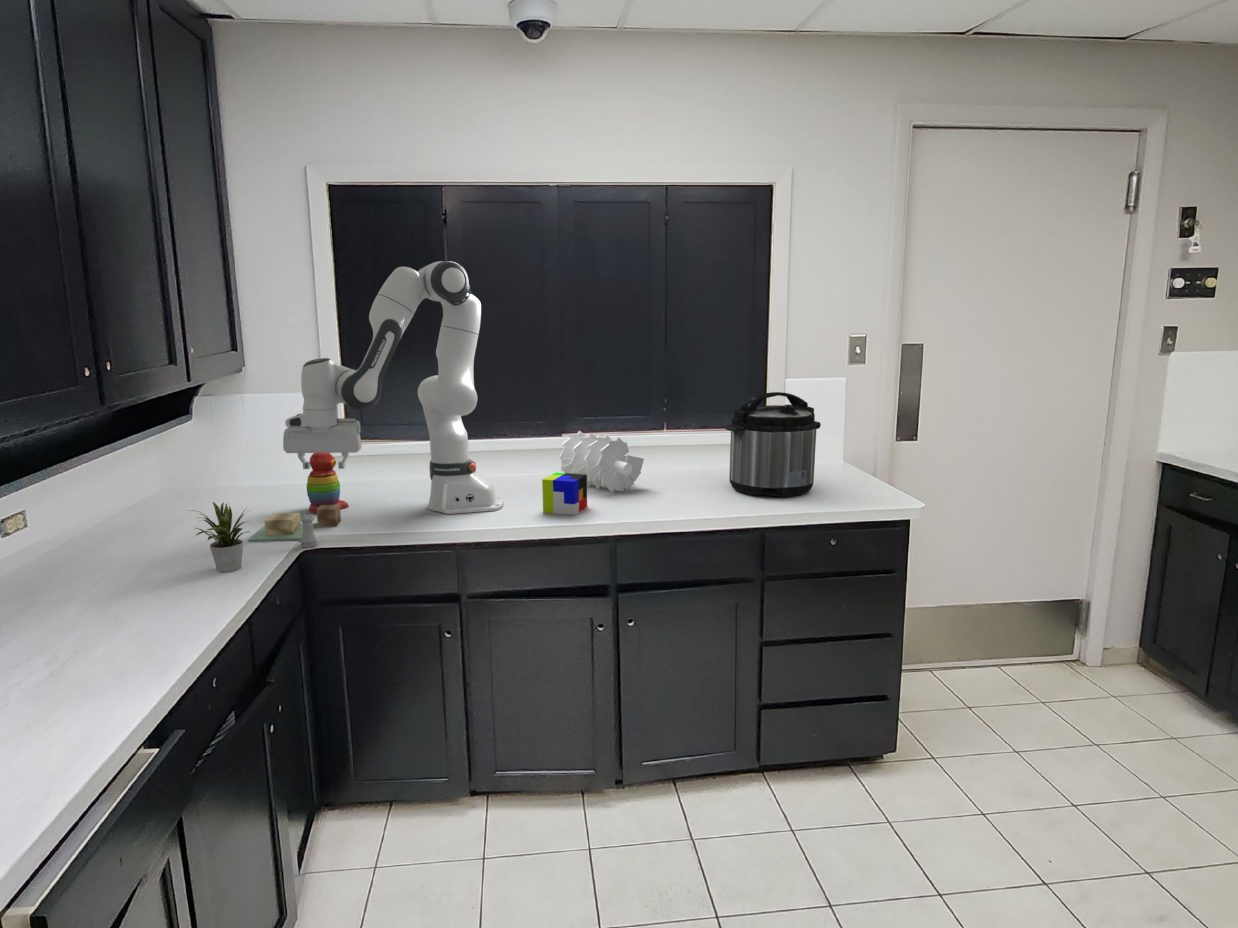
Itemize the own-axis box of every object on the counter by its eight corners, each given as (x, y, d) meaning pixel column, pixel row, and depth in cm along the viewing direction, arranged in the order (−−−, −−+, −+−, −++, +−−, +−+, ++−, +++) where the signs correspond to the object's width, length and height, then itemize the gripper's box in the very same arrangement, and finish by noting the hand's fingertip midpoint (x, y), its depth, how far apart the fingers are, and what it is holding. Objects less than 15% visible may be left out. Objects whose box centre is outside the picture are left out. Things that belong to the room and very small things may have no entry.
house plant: (181, 568, 192) (173, 501, 189) (241, 554, 202) (234, 490, 199) (206, 582, 182) (198, 512, 179) (267, 567, 192) (260, 500, 189)
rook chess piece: (302, 549, 206) (300, 518, 204) (297, 545, 210) (295, 515, 208) (320, 546, 209) (318, 516, 207) (315, 542, 212) (313, 512, 210)
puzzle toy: (574, 515, 237) (574, 481, 235) (543, 512, 240) (542, 479, 238) (587, 506, 246) (586, 474, 244) (556, 504, 249) (555, 472, 247)
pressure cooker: (816, 481, 278) (820, 388, 271) (820, 501, 250) (825, 398, 244) (727, 477, 283) (729, 386, 277) (722, 497, 256) (724, 396, 249)
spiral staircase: (616, 507, 260) (563, 491, 277) (651, 476, 269) (598, 462, 286) (600, 461, 250) (546, 446, 267) (636, 430, 260) (582, 418, 277)
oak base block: (300, 527, 223) (299, 512, 223) (293, 534, 217) (291, 519, 216) (274, 527, 223) (273, 513, 222) (265, 535, 216) (264, 520, 215)
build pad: (317, 525, 227) (317, 523, 227) (303, 540, 214) (302, 537, 214) (265, 526, 226) (265, 524, 226) (247, 541, 212) (247, 539, 212)
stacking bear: (332, 515, 238) (327, 455, 234) (300, 513, 240) (295, 454, 236) (351, 505, 248) (346, 448, 244) (320, 504, 250) (316, 447, 246)
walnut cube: (341, 521, 231) (339, 504, 230) (336, 526, 226) (335, 509, 225) (322, 522, 231) (321, 505, 230) (318, 527, 226) (316, 509, 225)
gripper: (362, 416, 226) (365, 465, 229) (286, 417, 225) (290, 466, 227) (357, 420, 220) (360, 470, 223) (279, 420, 218) (283, 471, 221)
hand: (324, 468), depth 225 cm, fingers open, 8 cm apart
